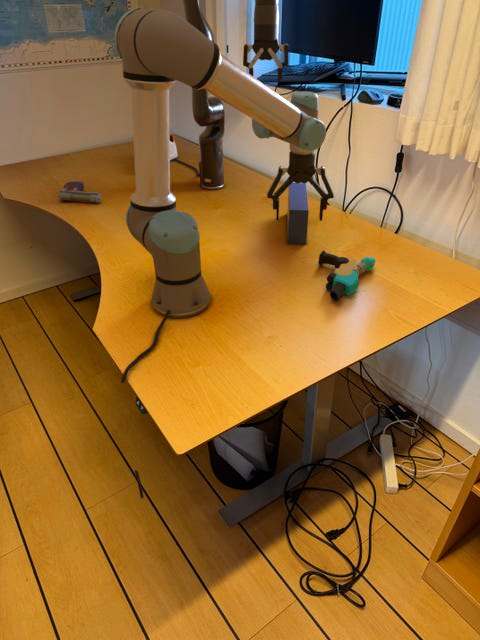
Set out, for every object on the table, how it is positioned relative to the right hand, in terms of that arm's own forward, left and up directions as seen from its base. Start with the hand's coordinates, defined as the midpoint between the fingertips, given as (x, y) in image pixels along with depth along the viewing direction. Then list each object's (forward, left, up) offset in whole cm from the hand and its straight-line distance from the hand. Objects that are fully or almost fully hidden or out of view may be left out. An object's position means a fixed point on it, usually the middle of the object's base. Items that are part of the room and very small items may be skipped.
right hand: (265, 81), depth 153 cm
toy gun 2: (+52, -24, -42) cm, 72 cm away
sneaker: (-67, 0, -42) cm, 79 cm away
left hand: (+28, -12, -35) cm, 46 cm away
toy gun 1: (-56, -44, -42) cm, 82 cm away
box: (+22, -6, -42) cm, 48 cm away
